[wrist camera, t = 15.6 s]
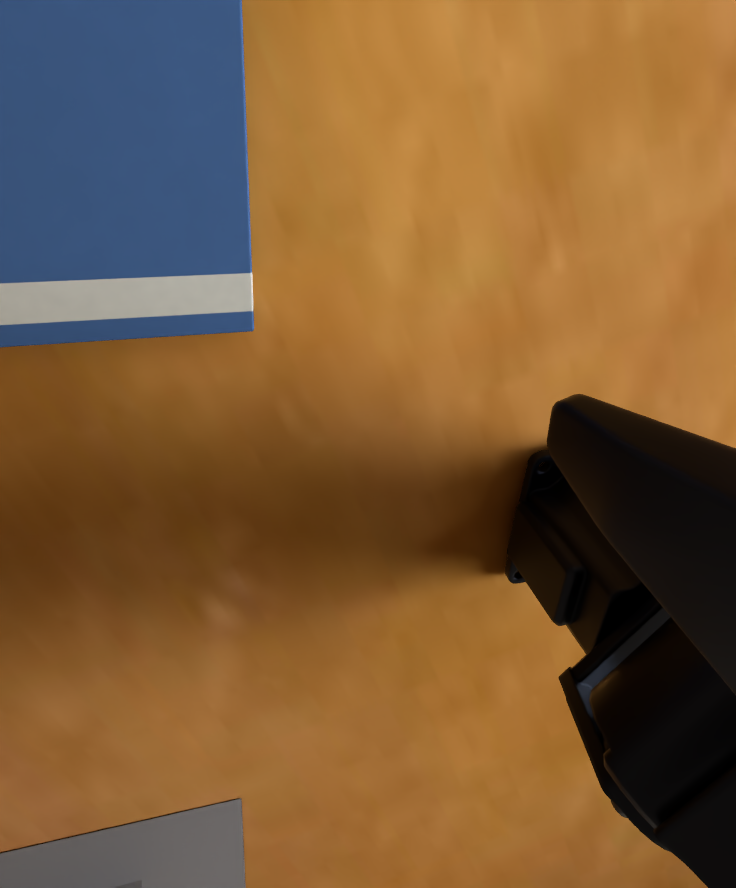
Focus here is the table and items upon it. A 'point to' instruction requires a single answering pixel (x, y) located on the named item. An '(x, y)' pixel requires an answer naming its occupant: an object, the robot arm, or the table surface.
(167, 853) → the platform
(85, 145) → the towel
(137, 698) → the table surface
